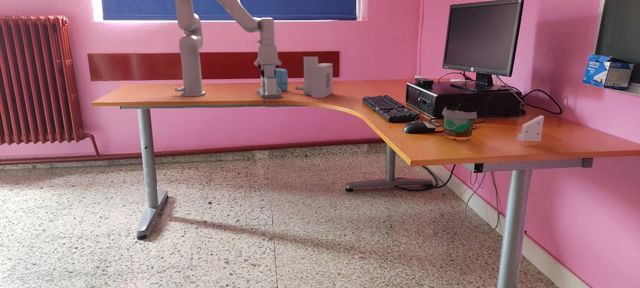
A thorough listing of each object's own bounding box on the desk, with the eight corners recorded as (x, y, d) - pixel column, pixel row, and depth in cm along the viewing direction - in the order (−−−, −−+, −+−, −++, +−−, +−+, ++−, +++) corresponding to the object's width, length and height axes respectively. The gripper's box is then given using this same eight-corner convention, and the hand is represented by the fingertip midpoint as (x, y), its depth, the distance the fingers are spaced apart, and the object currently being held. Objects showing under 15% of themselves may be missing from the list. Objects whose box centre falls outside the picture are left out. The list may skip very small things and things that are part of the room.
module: (265, 81, 228) (264, 64, 225) (262, 79, 235) (262, 63, 233) (274, 80, 229) (274, 64, 227) (271, 78, 237) (271, 62, 234)
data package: (287, 90, 249) (287, 69, 246) (282, 91, 246) (281, 70, 243) (273, 88, 257) (273, 67, 254) (268, 89, 254) (267, 68, 250)
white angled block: (553, 138, 143) (544, 116, 141) (525, 153, 144) (515, 131, 142) (547, 135, 147) (538, 113, 145) (520, 150, 148) (510, 128, 146)
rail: (262, 98, 224) (261, 78, 221) (256, 92, 242) (256, 73, 239) (281, 97, 227) (281, 77, 224) (274, 91, 245) (274, 72, 242)
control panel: (323, 98, 227) (323, 59, 221) (290, 95, 232) (289, 57, 227) (332, 93, 241) (333, 56, 236) (301, 91, 247) (301, 55, 242)
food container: (433, 136, 154) (435, 109, 152) (442, 133, 159) (444, 106, 156) (465, 143, 146) (468, 114, 143) (474, 140, 150) (477, 111, 147)
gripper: (251, 43, 221) (253, 79, 226) (284, 42, 226) (285, 77, 231) (250, 42, 228) (251, 77, 233) (282, 41, 233) (282, 76, 238)
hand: (268, 77), depth 232 cm, fingers closed on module, 5 cm apart
